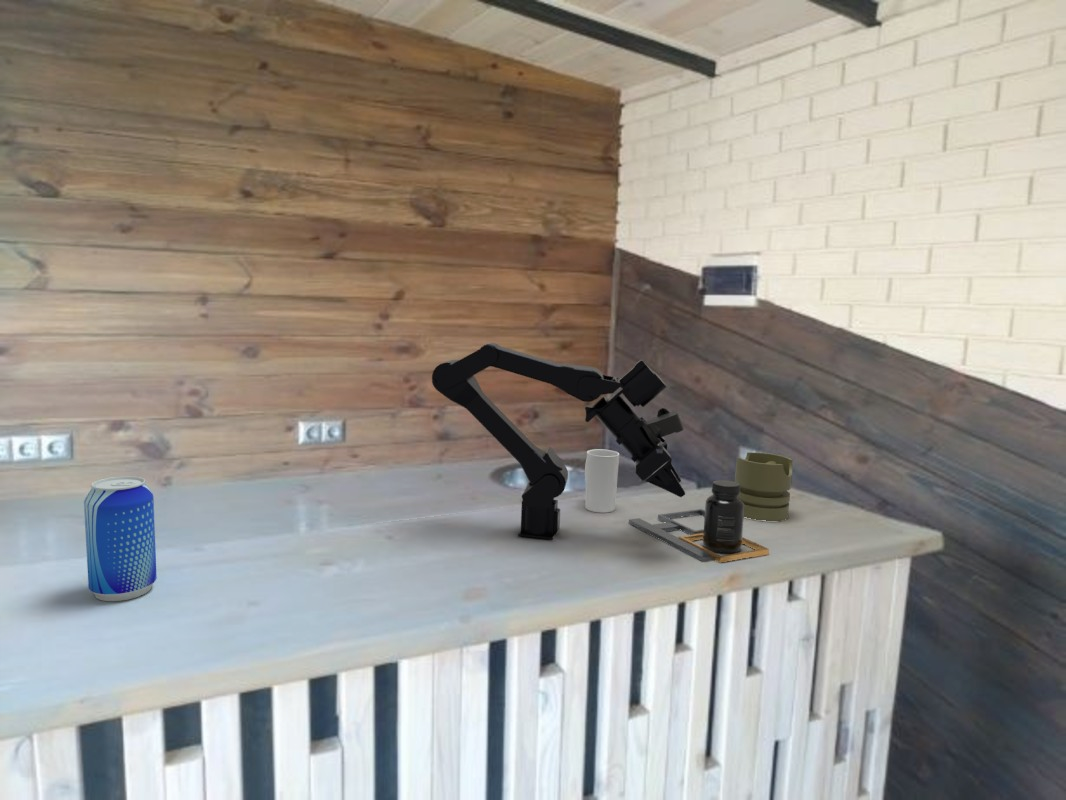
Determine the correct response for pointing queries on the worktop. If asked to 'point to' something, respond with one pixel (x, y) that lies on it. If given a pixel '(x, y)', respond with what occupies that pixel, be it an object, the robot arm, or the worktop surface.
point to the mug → (601, 480)
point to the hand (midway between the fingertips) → (681, 488)
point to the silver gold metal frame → (692, 538)
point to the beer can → (120, 538)
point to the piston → (764, 485)
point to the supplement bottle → (723, 518)
